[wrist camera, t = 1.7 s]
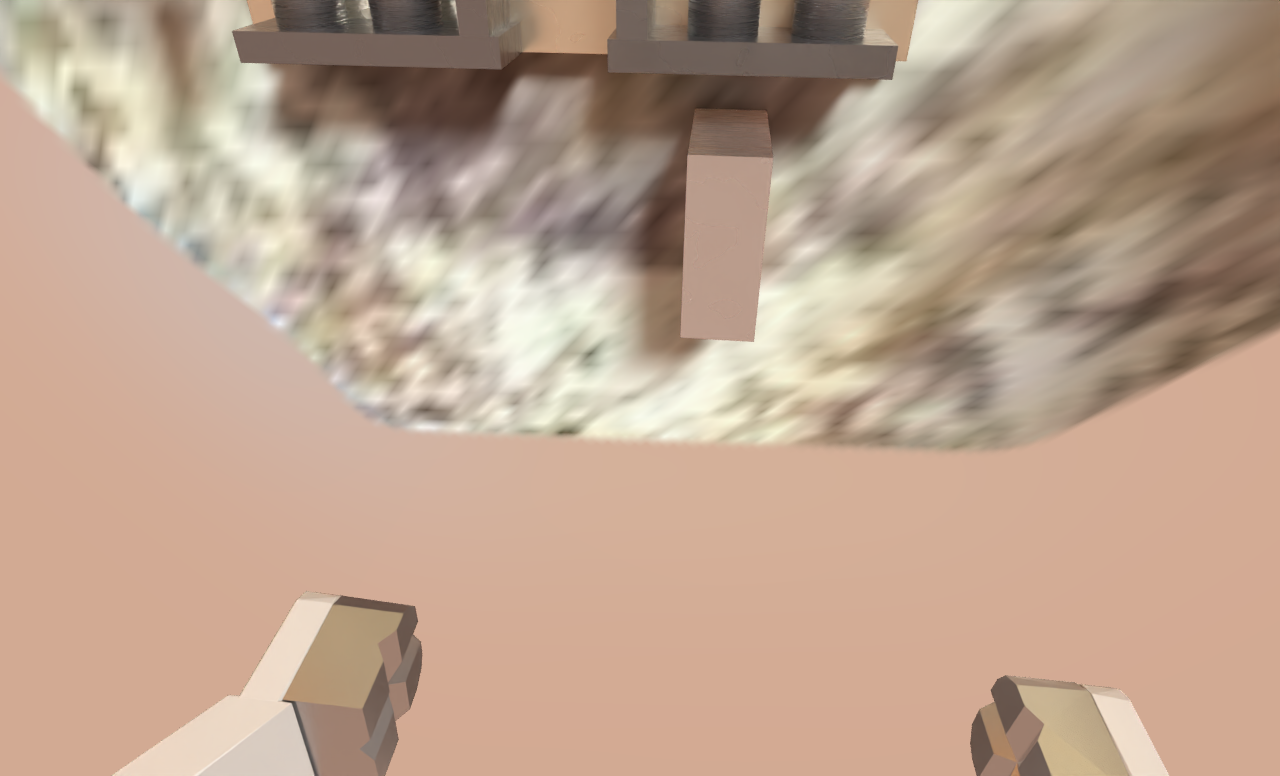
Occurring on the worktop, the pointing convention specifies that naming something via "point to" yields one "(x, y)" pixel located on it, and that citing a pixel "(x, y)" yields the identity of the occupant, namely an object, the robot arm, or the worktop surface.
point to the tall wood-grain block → (725, 223)
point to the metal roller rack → (589, 34)
